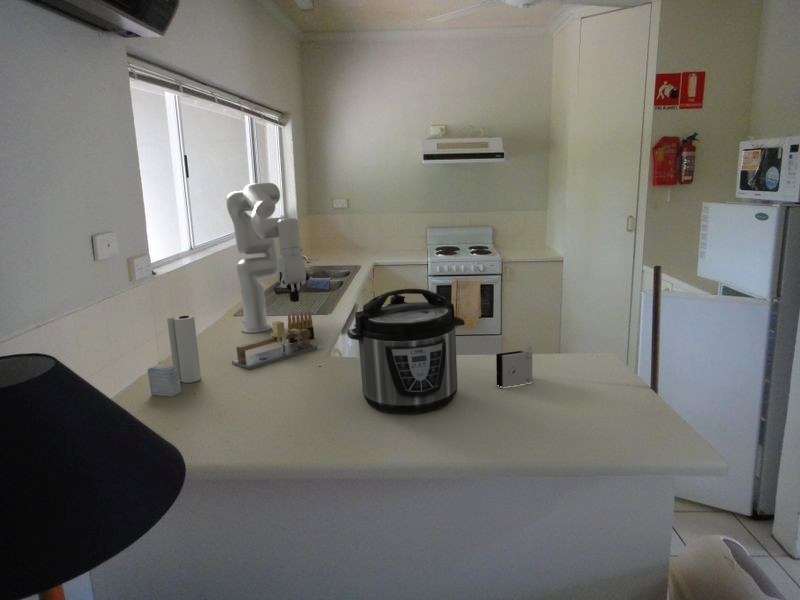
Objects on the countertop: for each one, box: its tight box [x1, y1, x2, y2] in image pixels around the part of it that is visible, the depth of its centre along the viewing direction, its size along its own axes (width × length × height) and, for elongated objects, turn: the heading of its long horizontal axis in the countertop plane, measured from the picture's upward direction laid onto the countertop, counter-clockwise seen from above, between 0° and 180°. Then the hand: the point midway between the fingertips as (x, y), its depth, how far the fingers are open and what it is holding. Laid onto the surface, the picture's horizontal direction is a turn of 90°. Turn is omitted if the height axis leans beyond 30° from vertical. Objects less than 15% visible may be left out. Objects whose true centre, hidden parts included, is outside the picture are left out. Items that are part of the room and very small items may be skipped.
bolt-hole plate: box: [231, 341, 319, 371], centre depth 210 cm, size 11×30×1 cm, turn 137°
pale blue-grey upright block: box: [147, 364, 182, 398], centre depth 175 cm, size 8×4×9 cm, turn 71°
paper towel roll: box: [166, 314, 202, 384], centre depth 185 cm, size 7×6×21 cm
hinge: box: [495, 345, 533, 388], centre depth 170 cm, size 14×5×10 cm, turn 120°
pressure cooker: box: [346, 288, 466, 414], centre depth 159 cm, size 30×28×32 cm
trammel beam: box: [236, 329, 310, 364], centre depth 209 cm, size 4×30×7 cm, turn 138°
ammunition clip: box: [287, 309, 316, 344], centre depth 229 cm, size 11×2×12 cm, turn 124°
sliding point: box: [270, 320, 288, 352], centre depth 210 cm, size 5×4×11 cm
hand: (294, 301), depth 213 cm, fingers closed
